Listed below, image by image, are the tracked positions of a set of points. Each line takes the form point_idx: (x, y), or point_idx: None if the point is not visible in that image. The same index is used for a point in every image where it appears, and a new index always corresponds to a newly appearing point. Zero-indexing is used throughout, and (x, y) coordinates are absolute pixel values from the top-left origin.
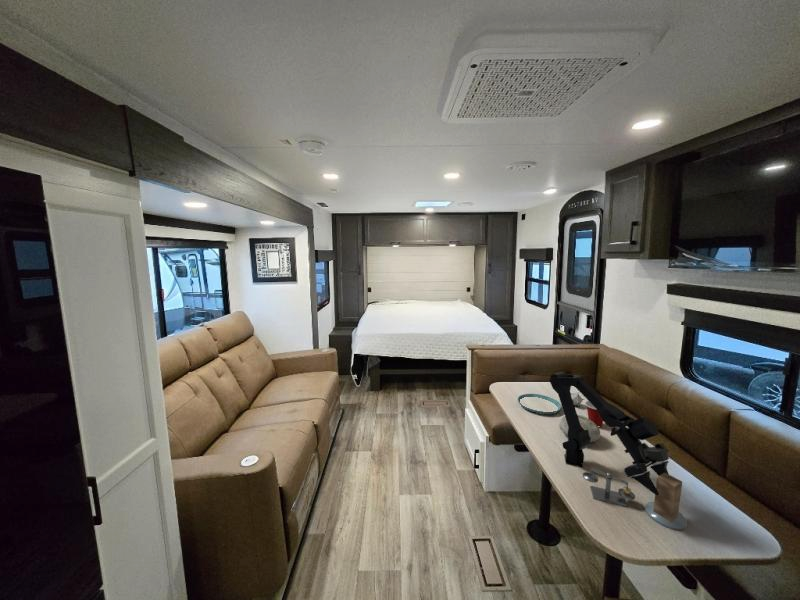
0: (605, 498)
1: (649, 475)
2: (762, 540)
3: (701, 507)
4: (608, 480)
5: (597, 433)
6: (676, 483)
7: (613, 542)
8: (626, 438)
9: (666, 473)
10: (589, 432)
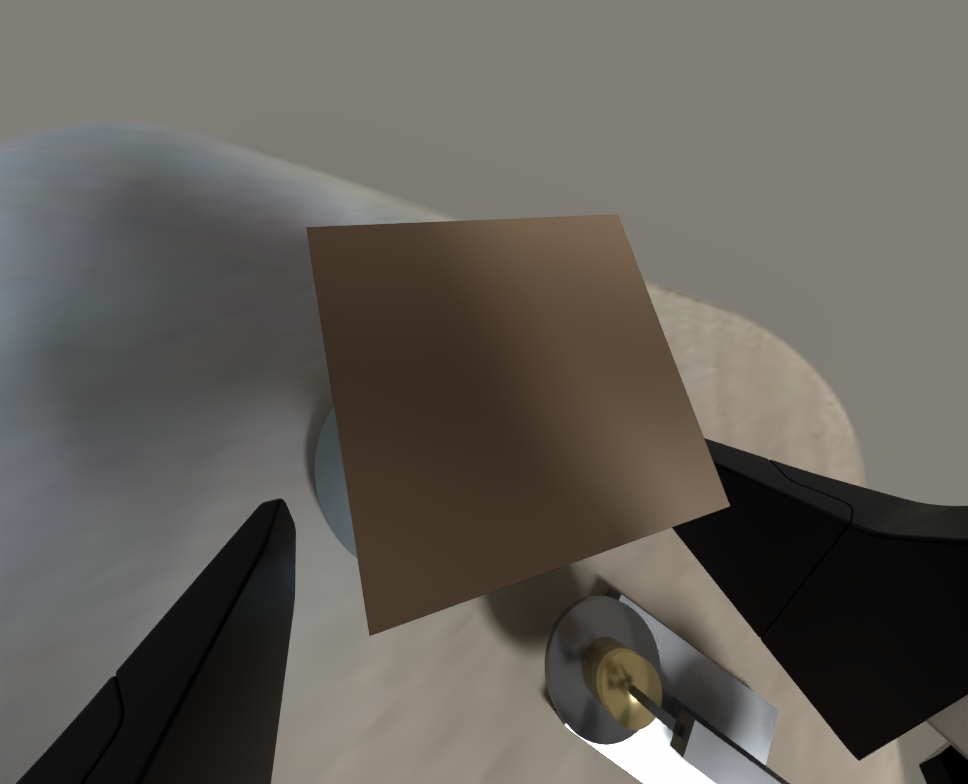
0: (715, 673)
1: (944, 537)
2: (33, 168)
3: (13, 462)
4: None
5: None
6: (518, 239)
7: (804, 402)
8: None
9: (183, 690)
10: None
